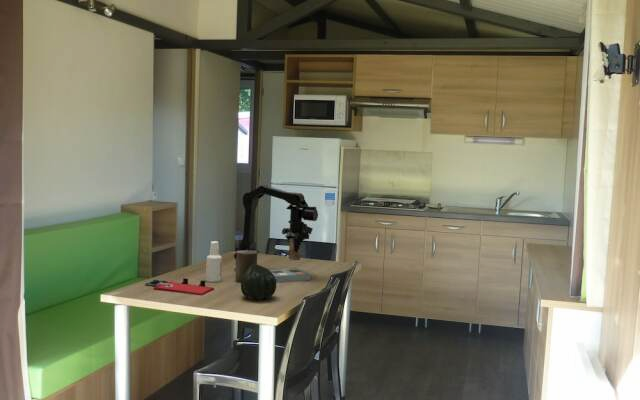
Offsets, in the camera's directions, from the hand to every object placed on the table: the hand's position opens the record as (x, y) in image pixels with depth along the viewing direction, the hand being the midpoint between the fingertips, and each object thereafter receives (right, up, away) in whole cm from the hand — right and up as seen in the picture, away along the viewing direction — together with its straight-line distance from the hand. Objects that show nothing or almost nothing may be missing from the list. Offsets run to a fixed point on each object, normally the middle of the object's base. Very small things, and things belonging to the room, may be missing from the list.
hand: (294, 251), depth 286 cm
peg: (0, -4, 0) cm, 4 cm away
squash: (-13, -16, -41) cm, 46 cm away
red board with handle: (-49, -14, -30) cm, 59 cm away
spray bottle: (-37, -13, -13) cm, 41 cm away
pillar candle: (-22, -13, -11) cm, 28 cm away
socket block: (-3, -13, -1) cm, 13 cm away
